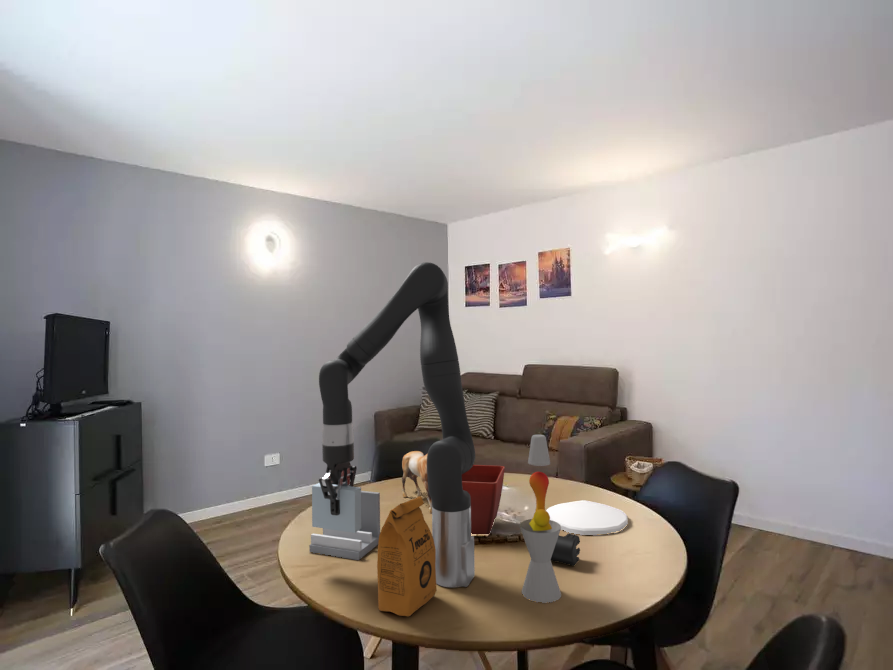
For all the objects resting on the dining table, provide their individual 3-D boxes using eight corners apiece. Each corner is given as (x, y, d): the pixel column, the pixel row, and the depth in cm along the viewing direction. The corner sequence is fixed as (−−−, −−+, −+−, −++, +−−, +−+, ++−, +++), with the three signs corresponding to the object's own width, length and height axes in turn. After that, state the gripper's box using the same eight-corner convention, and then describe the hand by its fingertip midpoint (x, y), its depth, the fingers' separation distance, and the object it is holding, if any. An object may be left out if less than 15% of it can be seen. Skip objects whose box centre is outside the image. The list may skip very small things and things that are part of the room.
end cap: (534, 562, 132) (533, 535, 132) (544, 552, 138) (544, 526, 138) (572, 571, 126) (572, 543, 126) (581, 560, 132) (581, 533, 132)
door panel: (361, 528, 126) (361, 487, 126) (354, 532, 123) (354, 490, 123) (319, 522, 130) (319, 482, 130) (312, 526, 127) (312, 485, 127)
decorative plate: (589, 528, 143) (528, 505, 164) (589, 543, 143) (528, 518, 164) (646, 511, 157) (583, 491, 178) (646, 525, 157) (583, 503, 178)
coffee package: (443, 598, 114) (442, 497, 114) (408, 624, 103) (406, 514, 104) (408, 586, 119) (407, 490, 119) (371, 610, 109) (369, 505, 109)
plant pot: (430, 538, 148) (429, 479, 148) (446, 515, 166) (445, 463, 166) (497, 543, 143) (496, 482, 143) (506, 520, 162) (505, 465, 162)
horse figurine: (452, 514, 168) (451, 450, 168) (430, 518, 164) (429, 453, 164) (412, 489, 195) (411, 435, 195) (393, 493, 192) (392, 437, 192)
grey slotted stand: (380, 542, 145) (379, 492, 145) (358, 560, 134) (357, 505, 134) (334, 536, 150) (333, 487, 150) (309, 552, 139) (308, 500, 139)
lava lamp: (517, 584, 120) (514, 432, 120) (555, 582, 120) (553, 431, 120) (525, 604, 110) (523, 439, 111) (567, 602, 111) (564, 438, 111)
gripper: (335, 448, 119) (336, 523, 119) (365, 436, 132) (367, 505, 132) (307, 446, 121) (309, 520, 121) (340, 435, 135) (341, 502, 134)
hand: (339, 512), depth 127 cm, fingers closed on door panel, 3 cm apart
